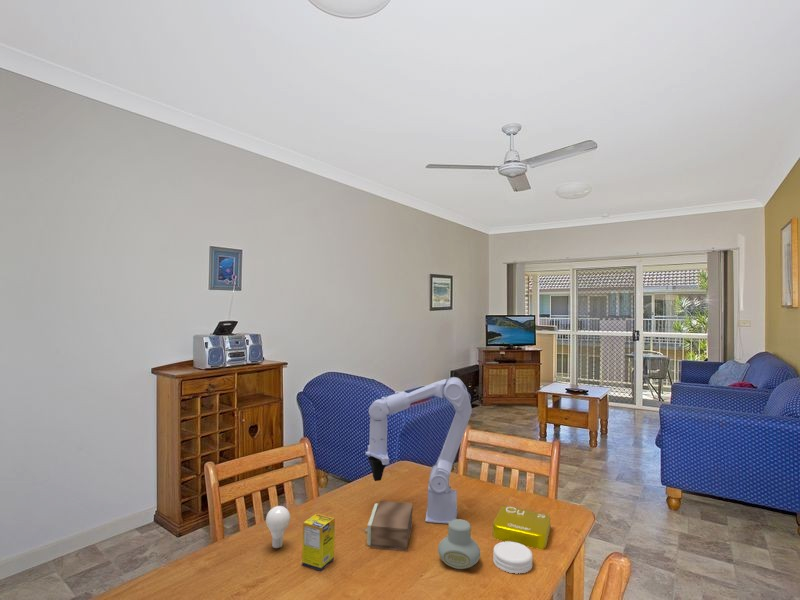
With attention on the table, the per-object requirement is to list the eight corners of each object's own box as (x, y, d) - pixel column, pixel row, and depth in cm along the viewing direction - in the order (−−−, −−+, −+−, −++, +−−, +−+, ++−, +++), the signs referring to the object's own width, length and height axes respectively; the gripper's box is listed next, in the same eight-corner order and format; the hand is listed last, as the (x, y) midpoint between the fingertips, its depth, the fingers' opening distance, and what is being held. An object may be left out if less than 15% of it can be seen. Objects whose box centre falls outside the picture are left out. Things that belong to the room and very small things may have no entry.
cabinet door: (378, 520, 138) (378, 502, 138) (370, 545, 123) (371, 525, 123) (372, 519, 138) (372, 502, 138) (364, 545, 123) (364, 525, 124)
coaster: (525, 580, 110) (526, 565, 110) (487, 566, 115) (487, 553, 115) (536, 561, 119) (537, 547, 119) (500, 549, 124) (500, 536, 124)
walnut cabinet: (412, 523, 137) (412, 503, 137) (406, 551, 121) (407, 528, 121) (379, 520, 138) (380, 500, 138) (370, 547, 122) (371, 525, 123)
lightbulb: (293, 544, 123) (294, 504, 124) (280, 556, 117) (281, 514, 118) (274, 539, 125) (275, 500, 126) (260, 551, 119) (261, 509, 120)
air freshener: (435, 567, 114) (436, 528, 114) (440, 550, 122) (441, 513, 122) (478, 575, 111) (479, 535, 111) (481, 557, 119) (482, 520, 119)
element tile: (491, 539, 129) (491, 523, 129) (501, 518, 143) (501, 502, 143) (545, 552, 123) (545, 535, 123) (550, 528, 137) (551, 512, 137)
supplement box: (334, 559, 116) (335, 517, 117) (321, 571, 111) (322, 527, 111) (315, 553, 119) (316, 512, 119) (301, 565, 113) (302, 522, 114)
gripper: (359, 432, 149) (358, 473, 149) (374, 445, 136) (373, 490, 136) (379, 430, 152) (378, 470, 152) (395, 443, 139) (394, 487, 138)
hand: (377, 479), depth 144 cm, fingers closed
